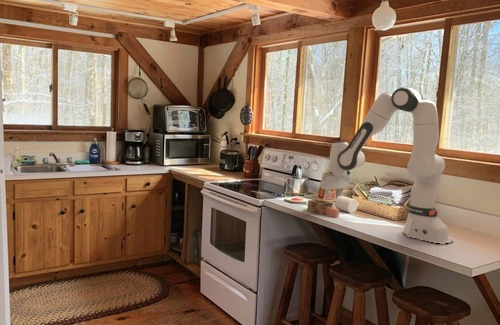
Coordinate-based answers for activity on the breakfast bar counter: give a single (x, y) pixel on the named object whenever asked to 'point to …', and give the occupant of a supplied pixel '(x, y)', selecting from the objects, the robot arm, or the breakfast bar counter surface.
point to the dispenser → (318, 206)
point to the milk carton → (322, 193)
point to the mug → (346, 204)
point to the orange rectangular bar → (331, 212)
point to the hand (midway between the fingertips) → (333, 196)
